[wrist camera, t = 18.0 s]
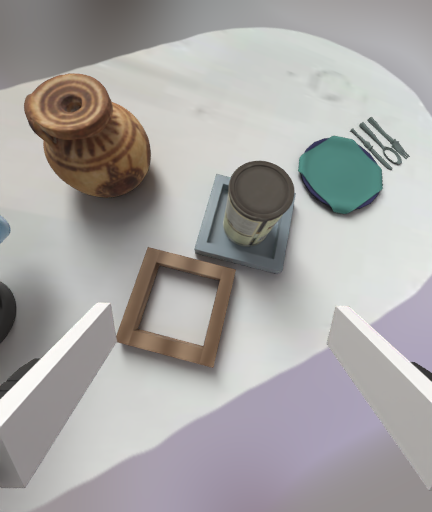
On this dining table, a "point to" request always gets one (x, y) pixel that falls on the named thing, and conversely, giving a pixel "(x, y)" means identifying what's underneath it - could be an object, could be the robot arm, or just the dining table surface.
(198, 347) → the wooden square frame
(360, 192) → the cutlery set
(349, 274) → the dining table surface
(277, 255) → the tray
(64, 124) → the clay pot
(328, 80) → the dining table surface
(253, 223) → the coffee can
